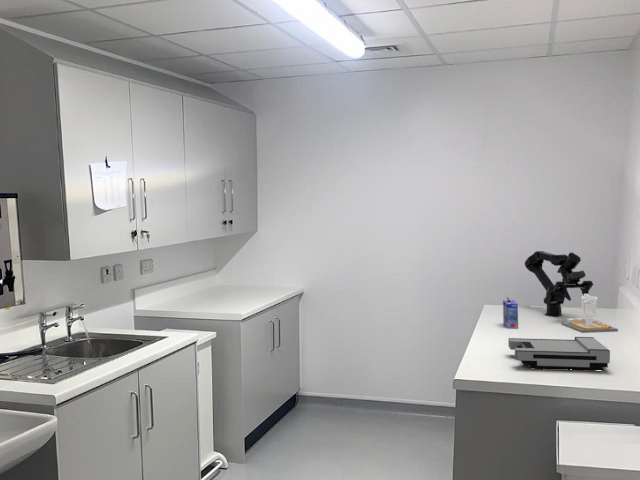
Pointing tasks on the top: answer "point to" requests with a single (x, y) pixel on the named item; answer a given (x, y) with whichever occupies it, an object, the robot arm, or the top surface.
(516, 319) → the ink cartridge box
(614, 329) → the panel
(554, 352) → the game console
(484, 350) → the top surface
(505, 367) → the top surface
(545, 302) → the robot arm
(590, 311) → the white piece
